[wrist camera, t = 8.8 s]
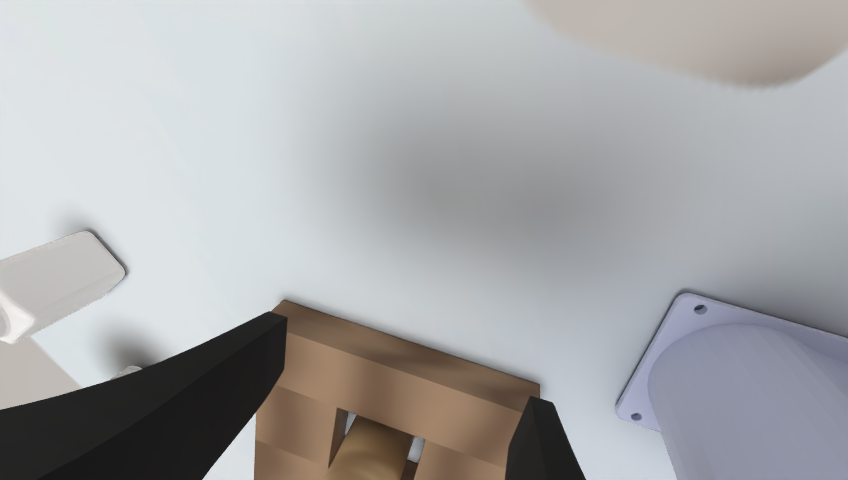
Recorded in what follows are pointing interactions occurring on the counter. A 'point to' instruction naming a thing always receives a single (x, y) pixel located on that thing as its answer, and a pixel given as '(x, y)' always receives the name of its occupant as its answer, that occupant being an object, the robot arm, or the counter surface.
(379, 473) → the peg
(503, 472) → the socket board
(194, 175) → the counter surface
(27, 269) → the salt shaker
